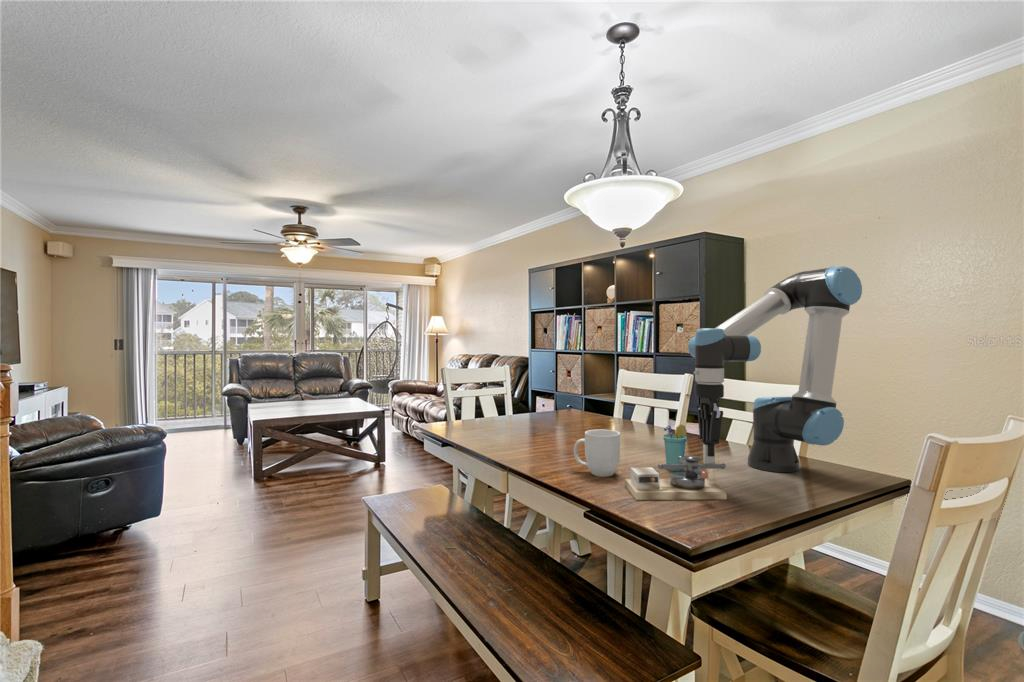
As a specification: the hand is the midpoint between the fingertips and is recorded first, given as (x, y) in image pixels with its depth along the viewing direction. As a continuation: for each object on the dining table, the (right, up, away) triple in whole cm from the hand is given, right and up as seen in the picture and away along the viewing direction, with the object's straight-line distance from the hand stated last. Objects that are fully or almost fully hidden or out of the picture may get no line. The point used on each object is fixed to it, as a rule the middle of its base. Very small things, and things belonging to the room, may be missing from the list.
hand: (709, 466), depth 136 cm
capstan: (-6, -4, -2) cm, 8 cm away
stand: (-11, -6, -2) cm, 13 cm away
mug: (-28, -7, +16) cm, 33 cm away
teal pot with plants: (-3, -6, +21) cm, 22 cm away
